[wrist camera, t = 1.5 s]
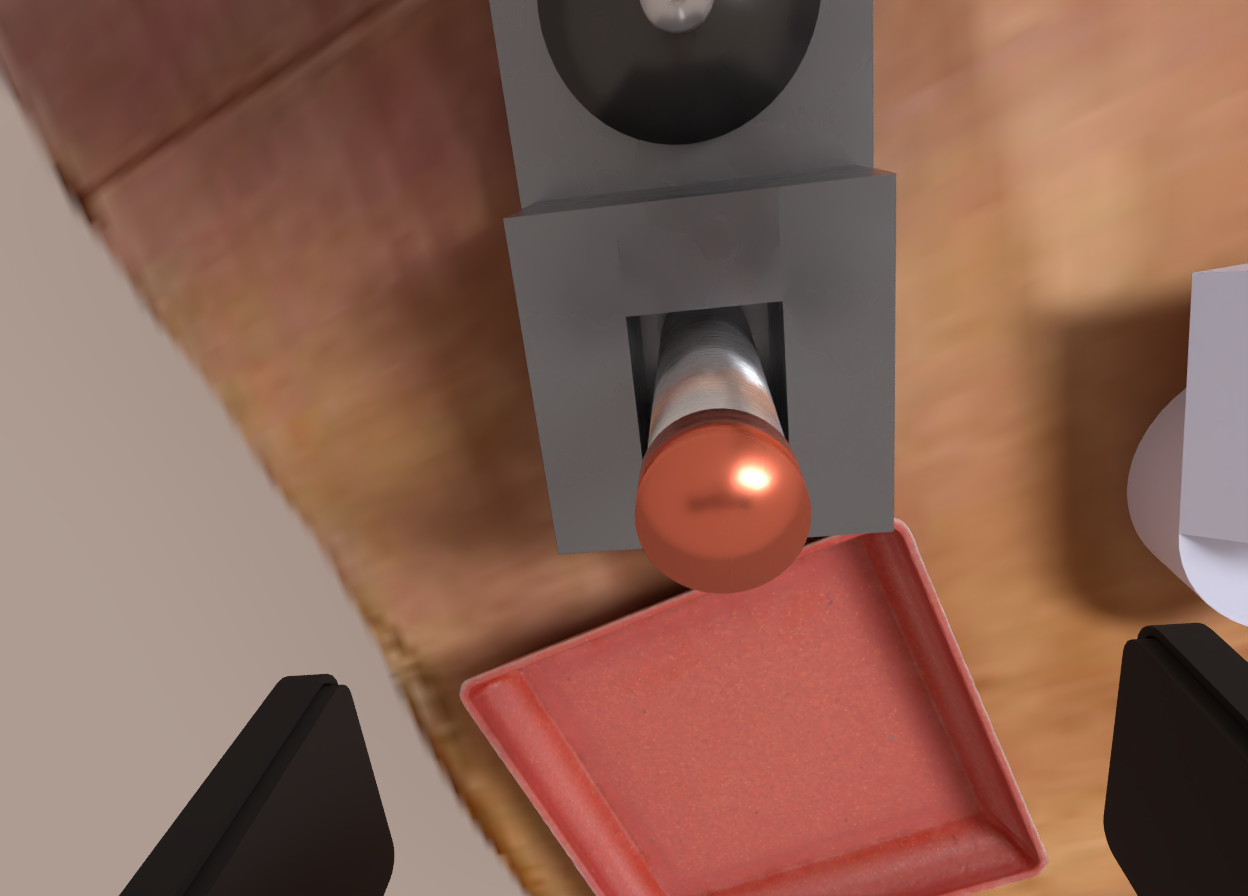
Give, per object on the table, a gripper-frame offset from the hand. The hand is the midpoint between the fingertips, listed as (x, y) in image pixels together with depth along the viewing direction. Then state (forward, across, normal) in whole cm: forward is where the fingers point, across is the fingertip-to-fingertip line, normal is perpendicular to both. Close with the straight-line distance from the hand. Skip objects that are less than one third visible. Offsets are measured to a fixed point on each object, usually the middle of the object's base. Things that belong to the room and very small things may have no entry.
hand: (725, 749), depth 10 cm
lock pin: (+19, 0, -1) cm, 19 cm away
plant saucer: (+21, -1, +17) cm, 27 cm away
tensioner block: (+20, 0, -5) cm, 20 cm away
